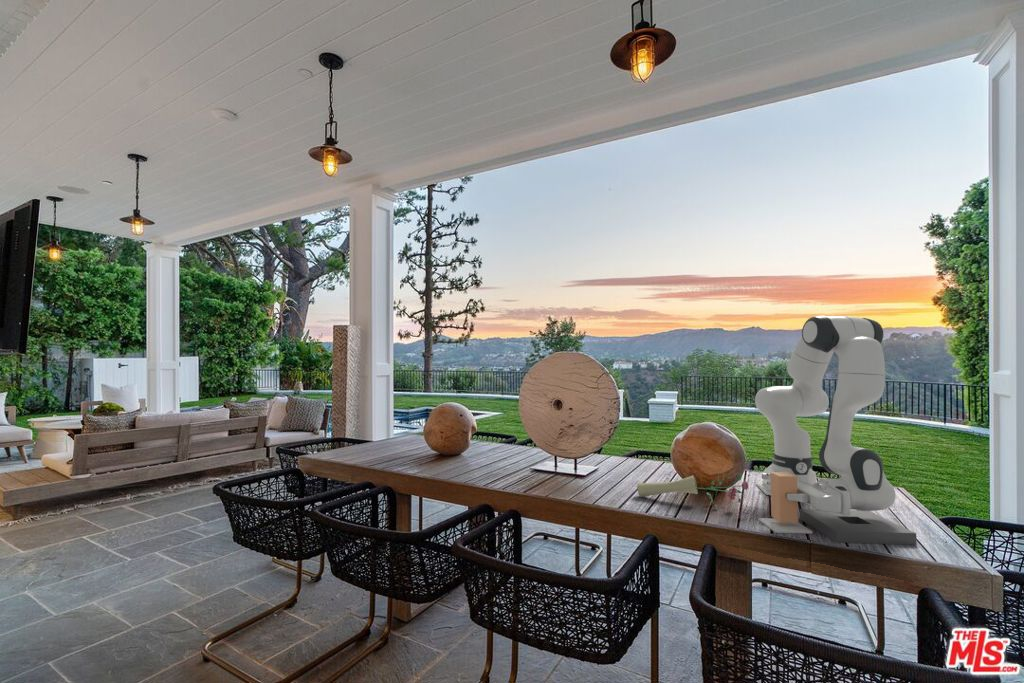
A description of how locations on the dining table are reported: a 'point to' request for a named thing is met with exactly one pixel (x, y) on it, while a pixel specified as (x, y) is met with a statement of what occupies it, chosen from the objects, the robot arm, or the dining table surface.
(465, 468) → the dining table surface
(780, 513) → the peg
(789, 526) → the mat
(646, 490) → the flower vase
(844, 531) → the holder
